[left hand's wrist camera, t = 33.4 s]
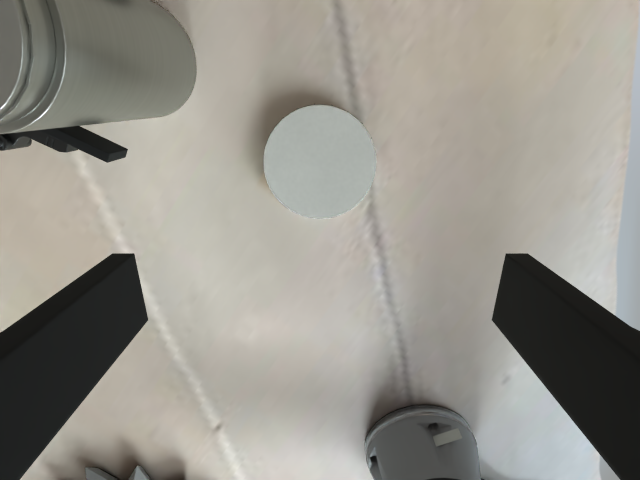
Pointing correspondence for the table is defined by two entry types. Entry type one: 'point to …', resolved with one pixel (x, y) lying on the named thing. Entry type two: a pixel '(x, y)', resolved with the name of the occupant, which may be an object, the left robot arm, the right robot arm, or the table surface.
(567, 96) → the table surface
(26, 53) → the jar
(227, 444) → the table surface
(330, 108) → the lid
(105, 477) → the decorative piece
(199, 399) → the table surface
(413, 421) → the left robot arm
